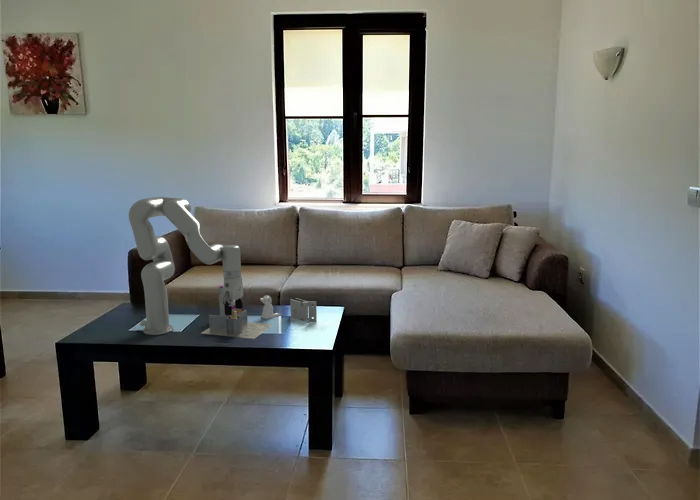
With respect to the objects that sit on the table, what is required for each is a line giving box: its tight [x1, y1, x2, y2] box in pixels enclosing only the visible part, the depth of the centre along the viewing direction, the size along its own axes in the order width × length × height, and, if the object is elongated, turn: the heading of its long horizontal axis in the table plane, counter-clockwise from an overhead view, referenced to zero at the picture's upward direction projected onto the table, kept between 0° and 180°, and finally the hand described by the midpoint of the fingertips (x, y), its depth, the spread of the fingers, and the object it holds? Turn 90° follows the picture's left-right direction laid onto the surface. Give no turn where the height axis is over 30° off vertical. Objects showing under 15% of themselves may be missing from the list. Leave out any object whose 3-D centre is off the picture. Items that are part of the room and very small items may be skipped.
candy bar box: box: [217, 284, 244, 316], centre depth 265 cm, size 11×5×16 cm, turn 143°
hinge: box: [289, 297, 318, 324], centre depth 259 cm, size 14×5×10 cm, turn 59°
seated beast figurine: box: [259, 294, 282, 320], centre depth 262 cm, size 10×9×12 cm
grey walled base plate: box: [200, 309, 274, 340], centre depth 244 cm, size 26×20×8 cm
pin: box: [230, 310, 237, 319], centre depth 239 cm, size 3×3×10 cm
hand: (233, 311), depth 238 cm, fingers open, 9 cm apart
